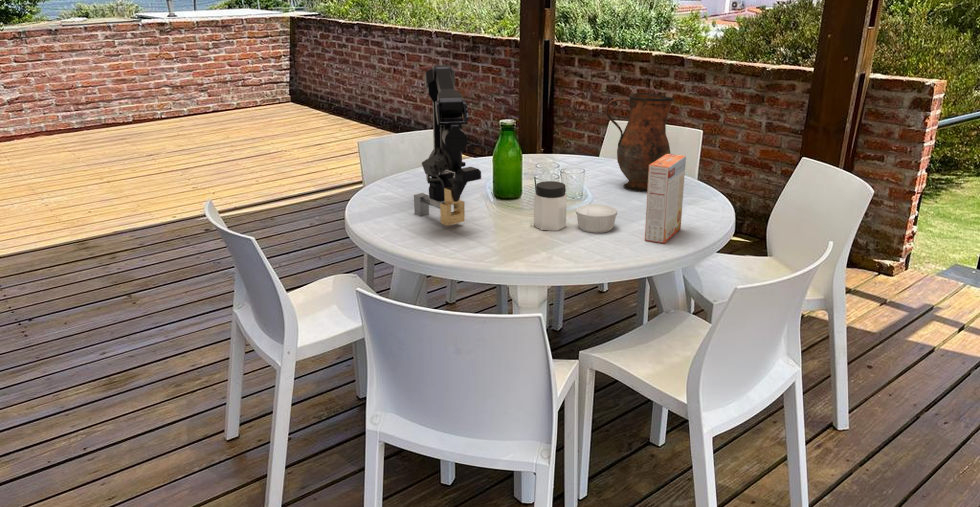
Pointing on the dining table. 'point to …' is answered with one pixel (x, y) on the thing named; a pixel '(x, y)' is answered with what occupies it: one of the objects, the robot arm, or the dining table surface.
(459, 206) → the stirrup
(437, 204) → the hook post
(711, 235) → the dining table surface
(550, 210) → the jar
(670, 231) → the cracker box
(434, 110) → the robot arm
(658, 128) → the pitcher
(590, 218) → the ramekin
